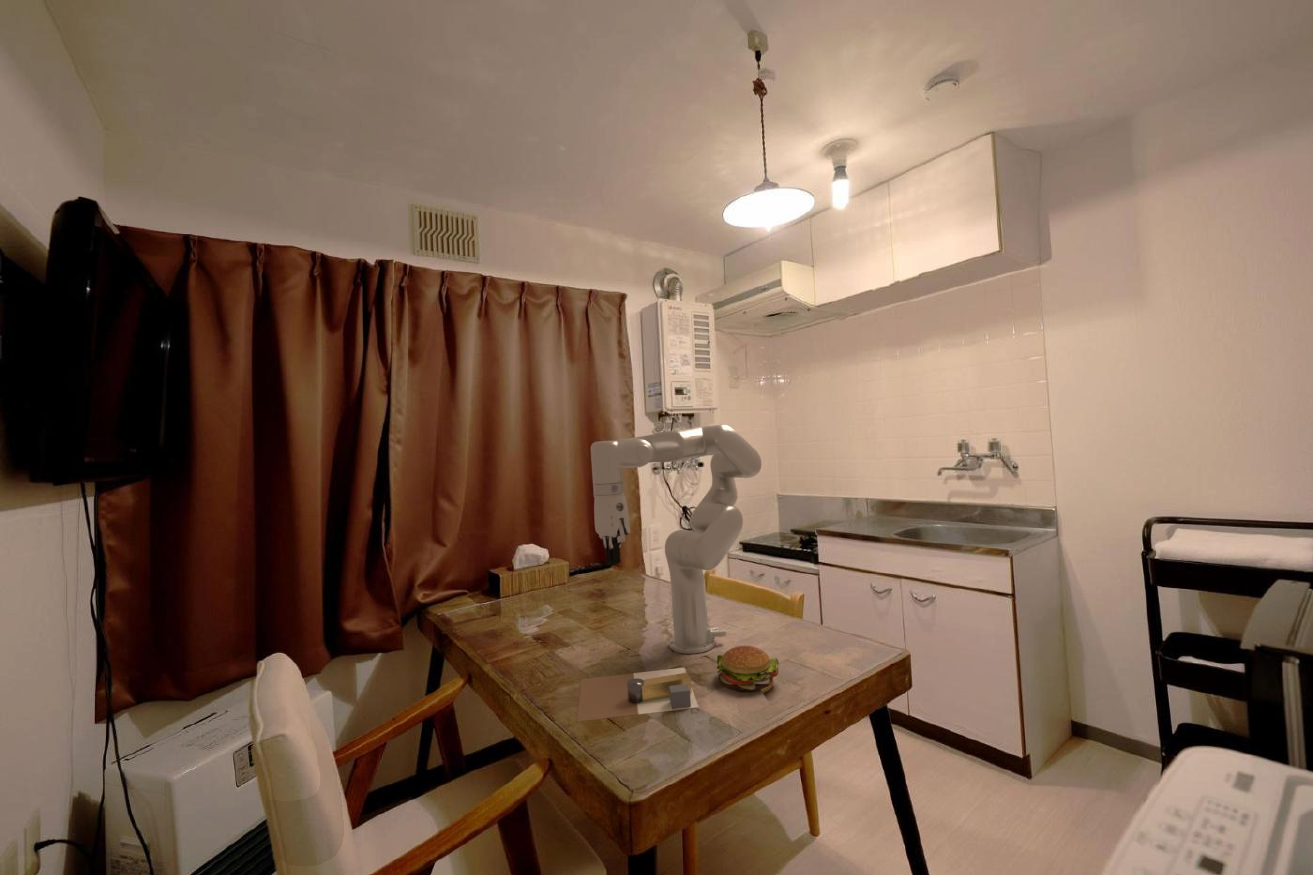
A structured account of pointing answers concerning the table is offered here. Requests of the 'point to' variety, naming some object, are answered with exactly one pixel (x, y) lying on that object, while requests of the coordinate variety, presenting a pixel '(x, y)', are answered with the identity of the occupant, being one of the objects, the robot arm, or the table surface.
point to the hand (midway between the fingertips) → (613, 563)
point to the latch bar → (654, 687)
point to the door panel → (612, 696)
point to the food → (747, 669)
